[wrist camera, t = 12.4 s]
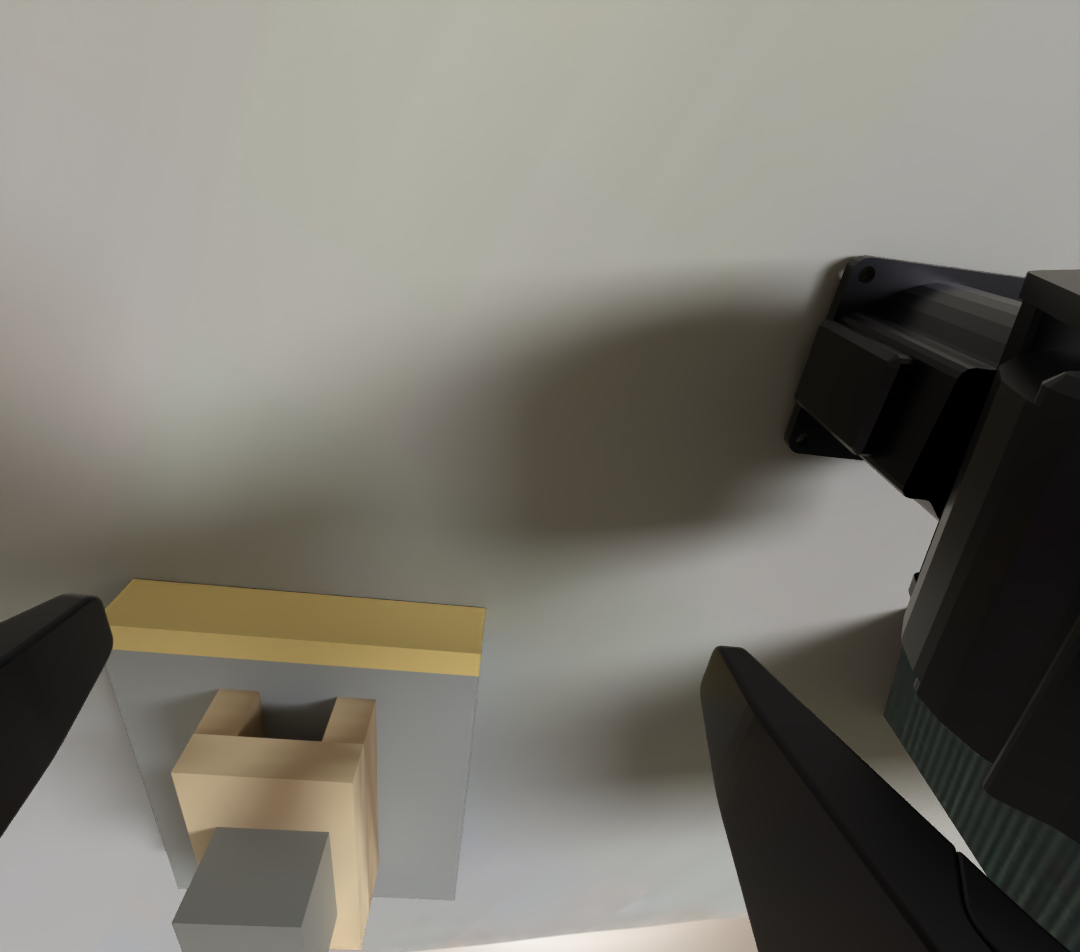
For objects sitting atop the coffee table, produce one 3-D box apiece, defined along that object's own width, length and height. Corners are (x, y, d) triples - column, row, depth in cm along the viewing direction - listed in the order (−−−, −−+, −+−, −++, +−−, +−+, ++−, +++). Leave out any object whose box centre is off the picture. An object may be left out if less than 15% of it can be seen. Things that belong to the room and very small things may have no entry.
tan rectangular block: (376, 699, 23) (352, 783, 20) (378, 865, 29) (360, 950, 25) (219, 688, 22) (170, 772, 19) (254, 859, 28) (220, 945, 25)
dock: (485, 608, 24) (481, 653, 22) (459, 850, 32) (454, 901, 30) (133, 578, 23) (90, 624, 21) (202, 837, 31) (178, 889, 29)
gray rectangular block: (329, 832, 21) (301, 927, 18) (337, 914, 24) (314, 1007, 21) (216, 827, 21) (171, 923, 18) (238, 911, 24) (202, 1005, 21)
